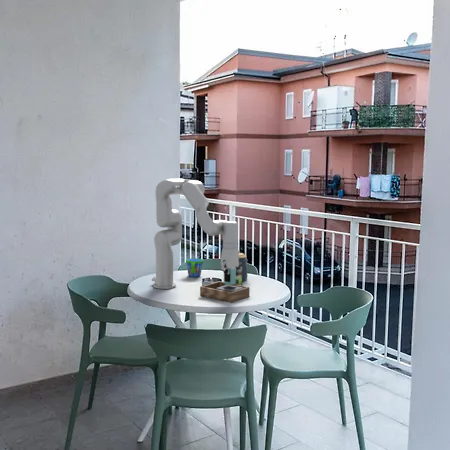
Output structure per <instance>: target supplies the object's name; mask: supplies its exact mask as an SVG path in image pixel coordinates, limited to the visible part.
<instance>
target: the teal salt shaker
mask: <svg viewBox="0 0 450 450" xmlns="http://www.w3.org/2000/svg"><path fill="white" fill-rule="evenodd" d="M226 268H227V267H226ZM226 270H227V271H228V269H226ZM229 274H230V282H226V281H225V284H228V285H233V284H236V268H235V267H233V268H230V273H229Z"/></svg>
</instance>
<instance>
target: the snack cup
mask: <svg viewBox="0 0 450 450" xmlns="http://www.w3.org/2000/svg"><path fill="white" fill-rule="evenodd" d="M185 263H186V268H187V275H188V277H191V278H198V277H201V275H202V271H203V264H204V259H203V258H199V257H198V258H197V257H196V258H195V257H194V258H192V257H191V258H186V259H185Z"/></svg>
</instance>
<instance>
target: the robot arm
mask: <svg viewBox="0 0 450 450" xmlns="http://www.w3.org/2000/svg"><path fill="white" fill-rule="evenodd" d="M155 187H156V188H155V202H156V208H155V209H156V210H155V211H156V212H155V213H156V215H155V216H156V217H155V218H156V224H157V226H158V227H159V228H166V229H162V230H159V231H157V232H156V233H155V235H154V238H153V241H154V248H155V276H152V277H153V278H151V281H152V282H153V284H152V287H153V288H155V289H159V290H169V289H173V288H174V289H175V288H176V286H177V284H176V283H175V282H174V252H173V249H172V246H173V247H175V246H176V245H179V244H180V243H181V241H182V240H183V238H182V237H183V218H182V215H181V213H180V212H179V210H177V209H174V208H173V201H172V198H171V195H172V196H173V195H183V196H184V197H185V199H186V200H187V201H188V203H189V204H190V205H191V207H192V209H194V211H195V217H196V221H197V223H198V225H199V226H200V228H201V229H202V230H203V232H204V233H206V235H208V236H211V237H214V236H218V235H222V238H223V239H222V249H221V256H220V268H221V269H220V270H221V271H222V272H223V275H224V274H225V278H224V277H223V282H224V281H226V282H230V274H229V273H230V268H233V267H235V268H236V270H237V268H238V266H239V254H238V251H239V223H238V222H237V221H234V220H223V219H216V220H214V219H212V218H211V217H210V214H209V213H208V211H207V208H208V206H209V204H210V202H209V200H208V199H207V197H206V196H205V195H204V193H205V191H206V188H205V185H204V184H203V182H201V181H199V180H195V179H194V180H193V179H185V178H168V179H167V178H166V179H163V180H161V181H160V182H158V184H157V185H156V186H155ZM226 267H227V268H226ZM226 269H228V271H227V270H226Z"/></svg>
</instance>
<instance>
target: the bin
mask: <svg viewBox="0 0 450 450" xmlns="http://www.w3.org/2000/svg"><path fill="white" fill-rule="evenodd" d="M225 285H228V284H225V282H224V281H216V282H212V283H211V282H210V283H208V284H205V285H201V286H200V287H199V288H200V289H199V296H200V297H203V298H207V299H212V300H215V301H216V300H217V301H221V302H226V303H230V304H232V303H235V302H237V301H240V300H243V299H247V298H249V297H250V286H246V285H242V286H241V285H236V284H233V285H232V286H238V287H243V289H240V290H237V291H234V292H227V291H222V290H217V289H216V288H218V287H221V286H225Z"/></svg>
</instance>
